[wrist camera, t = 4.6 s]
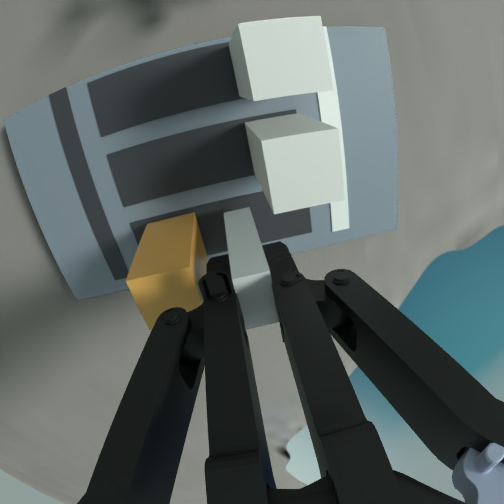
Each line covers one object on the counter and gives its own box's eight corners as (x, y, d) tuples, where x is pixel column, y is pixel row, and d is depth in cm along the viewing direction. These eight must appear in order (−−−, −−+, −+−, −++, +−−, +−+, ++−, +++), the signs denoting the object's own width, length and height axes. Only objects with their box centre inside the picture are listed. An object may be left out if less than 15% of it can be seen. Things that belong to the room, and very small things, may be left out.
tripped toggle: (162, 265, 20) (149, 329, 15) (146, 223, 18) (125, 281, 13) (207, 255, 20) (207, 319, 15) (194, 212, 19) (189, 266, 13)
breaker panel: (84, 284, 23) (49, 363, 15) (18, 115, 16) (-62, 144, 8) (384, 217, 23) (447, 278, 16) (369, 30, 16) (451, 16, 9)
